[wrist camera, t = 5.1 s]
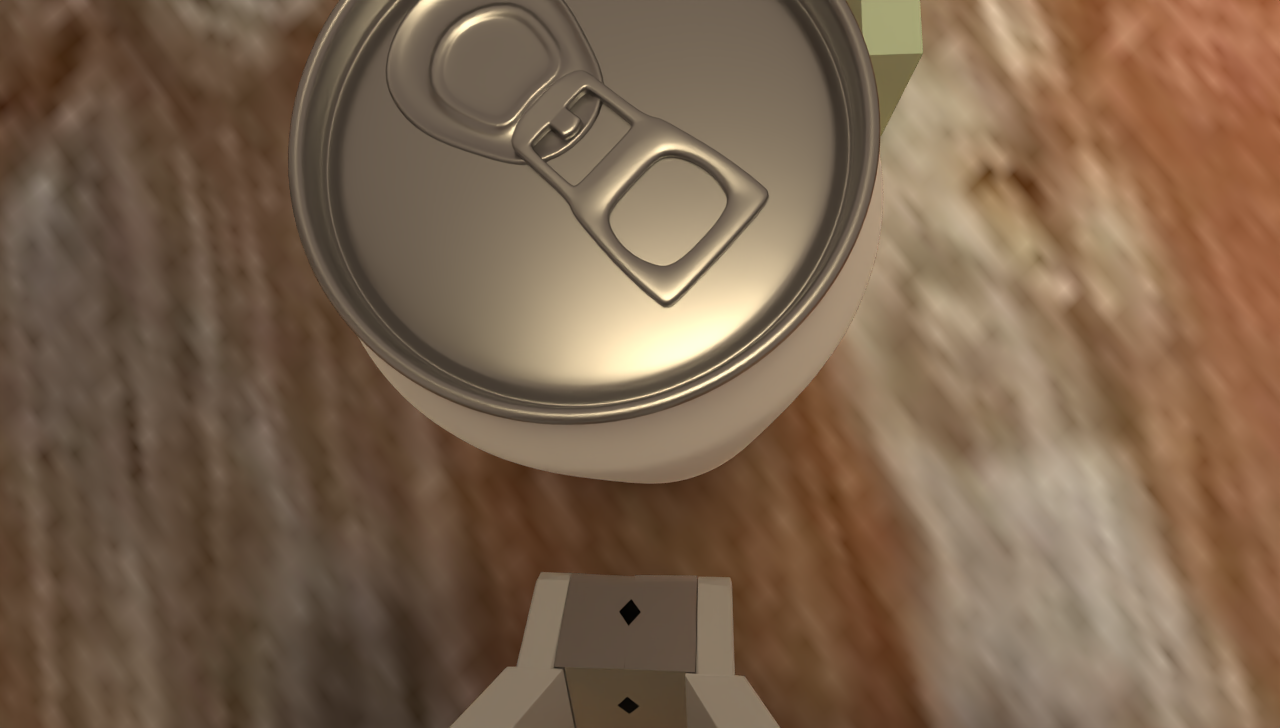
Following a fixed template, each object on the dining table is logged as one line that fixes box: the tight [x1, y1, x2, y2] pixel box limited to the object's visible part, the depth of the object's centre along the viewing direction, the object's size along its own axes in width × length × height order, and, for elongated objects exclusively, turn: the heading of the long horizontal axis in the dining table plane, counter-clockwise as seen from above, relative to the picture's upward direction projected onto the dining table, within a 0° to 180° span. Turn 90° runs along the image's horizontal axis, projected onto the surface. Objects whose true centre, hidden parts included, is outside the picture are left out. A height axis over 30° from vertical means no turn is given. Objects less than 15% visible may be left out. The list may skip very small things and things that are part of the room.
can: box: [288, 0, 883, 484], centre depth 13 cm, size 6×6×12 cm
